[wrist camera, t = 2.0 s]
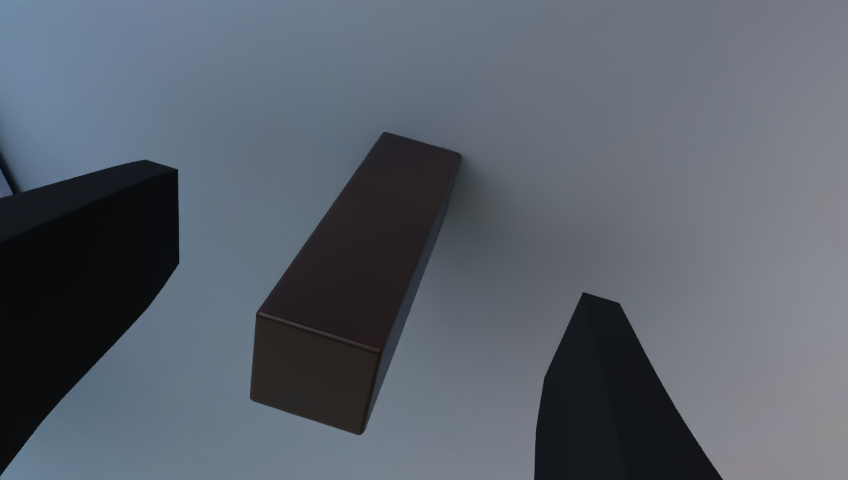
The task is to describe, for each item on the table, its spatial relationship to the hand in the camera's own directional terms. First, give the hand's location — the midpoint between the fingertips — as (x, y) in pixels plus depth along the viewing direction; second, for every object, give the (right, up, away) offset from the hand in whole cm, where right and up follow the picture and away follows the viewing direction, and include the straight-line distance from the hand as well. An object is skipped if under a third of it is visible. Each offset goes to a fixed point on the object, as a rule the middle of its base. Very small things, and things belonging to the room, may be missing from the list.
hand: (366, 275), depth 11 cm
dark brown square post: (+1, +2, +3) cm, 4 cm away
